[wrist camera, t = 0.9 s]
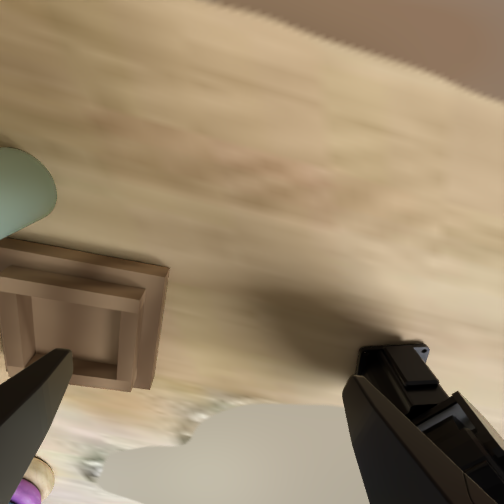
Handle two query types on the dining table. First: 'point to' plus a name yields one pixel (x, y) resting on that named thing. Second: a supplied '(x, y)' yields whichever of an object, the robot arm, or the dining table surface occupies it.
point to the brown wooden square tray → (81, 313)
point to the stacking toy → (34, 484)
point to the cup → (23, 191)
